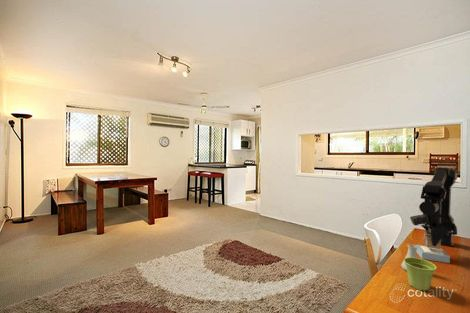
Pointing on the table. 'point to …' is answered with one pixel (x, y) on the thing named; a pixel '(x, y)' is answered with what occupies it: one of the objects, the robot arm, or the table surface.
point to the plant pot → (419, 273)
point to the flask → (410, 254)
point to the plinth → (433, 254)
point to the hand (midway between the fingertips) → (432, 243)
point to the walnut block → (430, 242)
